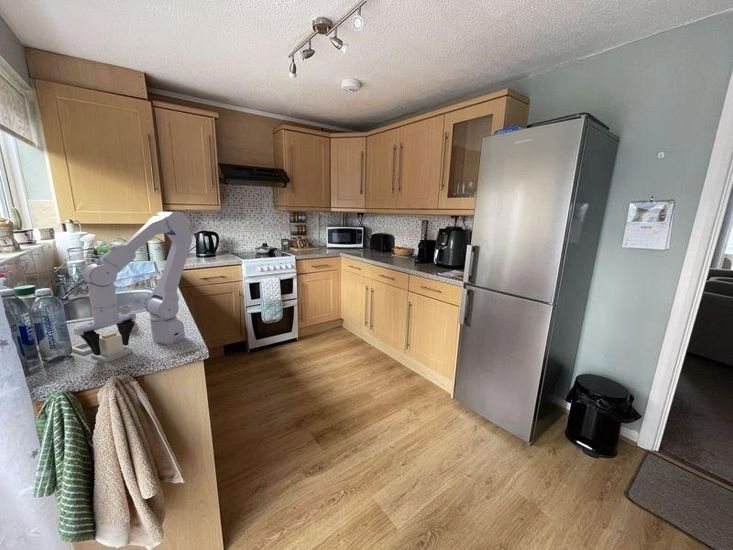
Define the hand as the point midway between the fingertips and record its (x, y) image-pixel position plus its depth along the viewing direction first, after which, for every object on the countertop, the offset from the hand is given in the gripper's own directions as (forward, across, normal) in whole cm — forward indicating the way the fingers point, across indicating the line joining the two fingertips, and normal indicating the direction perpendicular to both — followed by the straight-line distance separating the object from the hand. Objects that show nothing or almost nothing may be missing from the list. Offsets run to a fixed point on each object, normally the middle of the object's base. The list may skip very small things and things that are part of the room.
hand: (111, 349), depth 90 cm
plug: (+2, 0, 0) cm, 2 cm away
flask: (+3, -14, -18) cm, 23 cm away
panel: (+3, 0, -6) cm, 6 cm away
